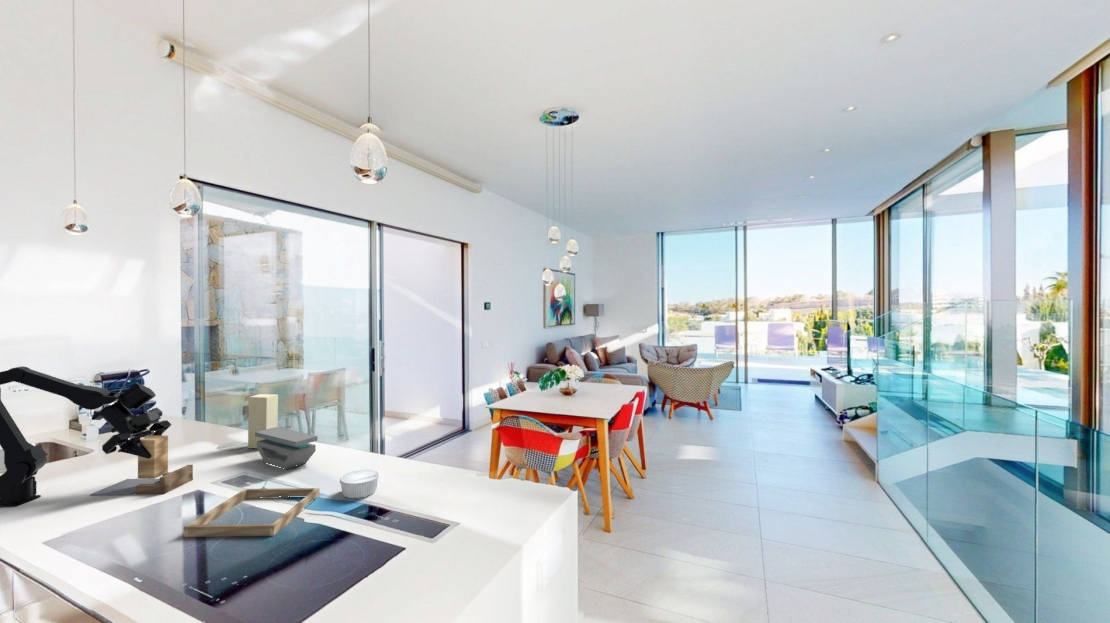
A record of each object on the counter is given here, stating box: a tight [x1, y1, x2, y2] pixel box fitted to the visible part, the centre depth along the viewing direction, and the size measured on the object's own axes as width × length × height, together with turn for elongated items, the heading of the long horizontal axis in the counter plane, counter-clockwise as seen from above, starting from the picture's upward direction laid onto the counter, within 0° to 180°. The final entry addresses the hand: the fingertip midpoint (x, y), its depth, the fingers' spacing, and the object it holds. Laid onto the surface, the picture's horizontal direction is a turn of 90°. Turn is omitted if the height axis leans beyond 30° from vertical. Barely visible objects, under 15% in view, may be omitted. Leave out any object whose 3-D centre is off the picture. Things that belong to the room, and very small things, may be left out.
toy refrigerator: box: [247, 393, 279, 448], centre depth 181 cm, size 8×7×21 cm
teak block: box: [137, 435, 169, 479], centre depth 140 cm, size 5×5×12 cm
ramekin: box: [339, 469, 380, 499], centre depth 137 cm, size 11×11×5 cm
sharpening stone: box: [255, 426, 319, 470], centre depth 161 cm, size 25×8×11 cm, turn 62°
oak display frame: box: [183, 487, 321, 538], centre depth 122 cm, size 23×22×2 cm
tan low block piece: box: [135, 464, 194, 495], centre depth 140 cm, size 11×8×5 cm
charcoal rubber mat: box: [89, 478, 160, 496], centre depth 140 cm, size 12×12×1 cm
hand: (157, 454), depth 140 cm, fingers closed on teak block, 5 cm apart
